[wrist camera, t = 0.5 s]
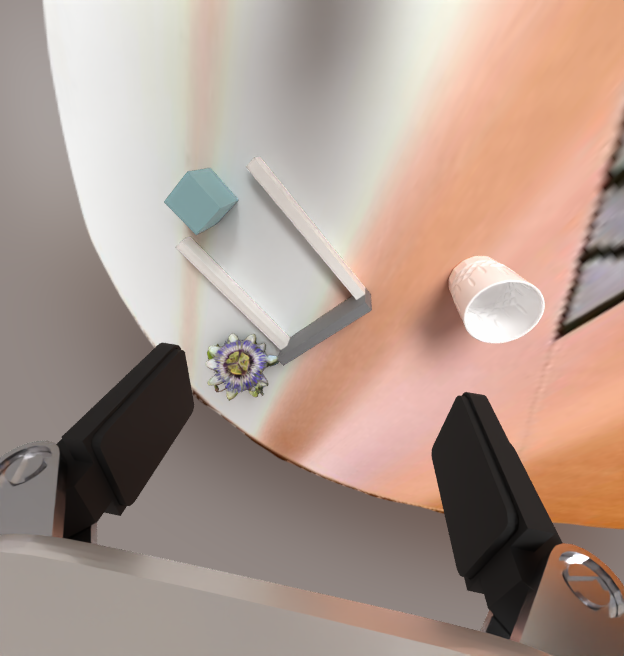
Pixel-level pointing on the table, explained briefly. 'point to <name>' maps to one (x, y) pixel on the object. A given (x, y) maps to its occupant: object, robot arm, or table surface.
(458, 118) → the table surface
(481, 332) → the white cup
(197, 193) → the block
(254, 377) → the passion flower
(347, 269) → the guide channel
